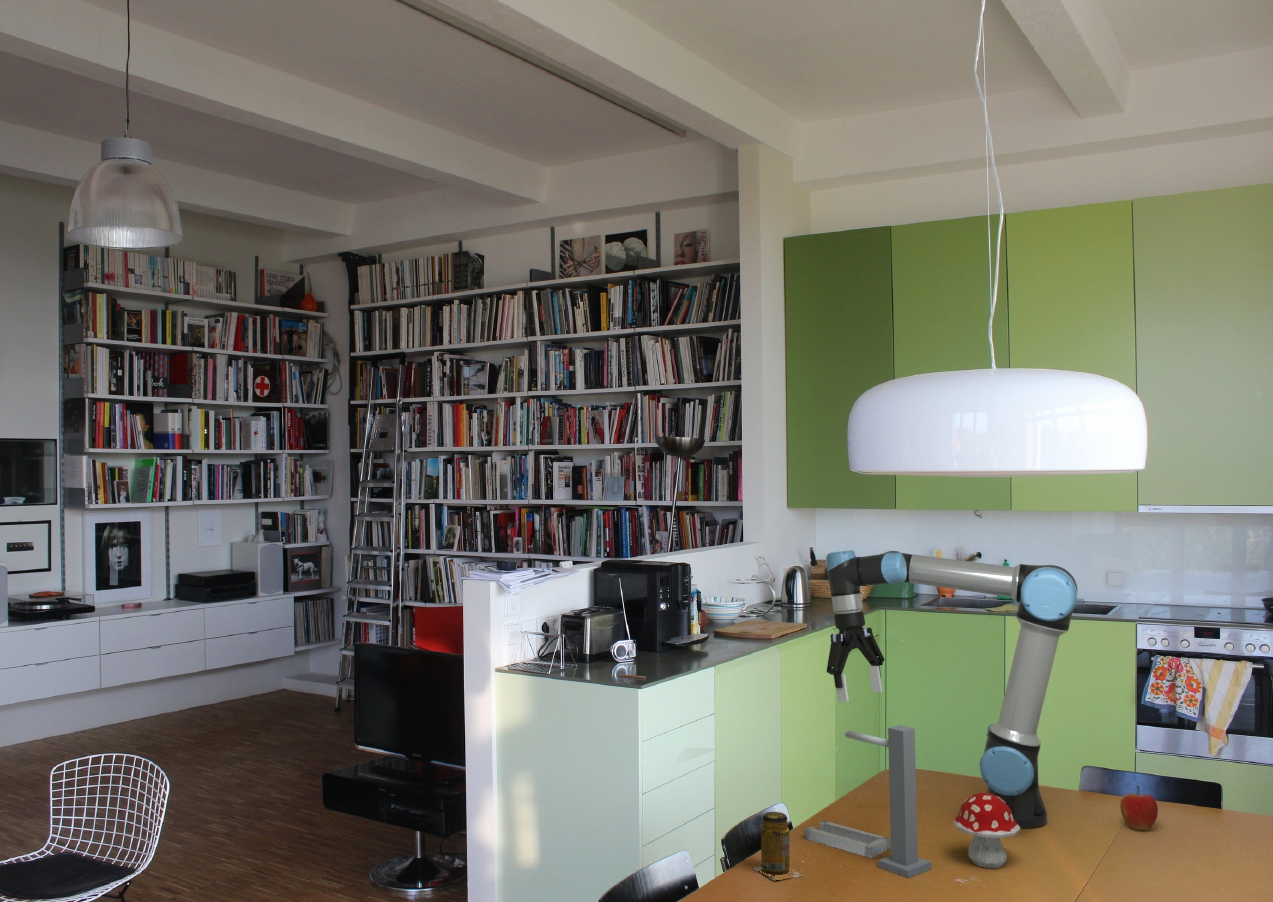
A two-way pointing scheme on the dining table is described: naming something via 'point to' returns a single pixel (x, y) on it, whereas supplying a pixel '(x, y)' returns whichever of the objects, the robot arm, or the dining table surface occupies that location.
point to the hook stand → (900, 801)
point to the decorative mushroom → (986, 828)
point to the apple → (1139, 811)
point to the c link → (848, 839)
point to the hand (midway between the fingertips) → (860, 696)
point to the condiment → (775, 845)
